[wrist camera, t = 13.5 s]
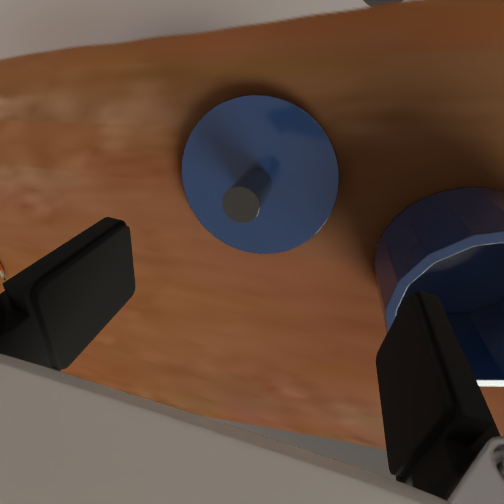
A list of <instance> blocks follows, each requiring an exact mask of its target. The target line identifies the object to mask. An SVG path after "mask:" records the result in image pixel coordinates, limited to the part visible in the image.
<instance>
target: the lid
mask: <svg viewBox="0 0 504 504" xmlns="http://www.w3.org/2000/svg"><path fill="white" fill-rule="evenodd" d="M182 181H183V187H184V191H185V194H186V198H187V200H188V202H189V205H190V207H191V209H192V211H193V212H194V214H195V216H196V217H197V218H198V220H199V221H200V222H201V224H202V225H203V226H204V227H205V228H206V229H207V230H208V231H209V232H210V233H211V234H212V235H214V236H215V237H216V238H218V239H219V240H221V241H222V242H224V243H226V244H227V245H229V246H231V247H234V248H236V249H239V250H242V251H246V252H251V253H258V254H270V253H278V252H283V251H287V250H290V249H293V248H295V247H297V246H299V245H301V244H303V243H304V242H306V241H307V240H309V239H310V238H311V237H313V236H314V235H315V234H316V233H317V232H318V231H319V230H320V229H321V228H322V227H323V225H324V224H325V222H326V221H327V219H328V218H329V216H330V214H331V212H332V210H333V208H334V205H335V202H336V199H337V194H338V189H339V169H338V162H337V158H336V154H335V151H334V148H333V146H332V143H331V141H330V139H329V138H328V136H327V134H326V132H325V131H324V130H323V128H322V127H321V125H320V124H319V123H318V122H317V121H316V120H315V119H314V118H313V117H312V116H311V115H310V114H309V113H307V112H306V111H305V110H303V109H302V108H301V107H299V106H297V105H295V104H294V103H292V102H289V101H287V100H284V99H282V98H278V97H274V96H270V95H258V94H256V95H245V96H240V97H236V98H232V99H230V100H227V101H225V102H223V103H221V104H219V105H217V106H216V107H214V108H213V109H211V110H210V111H209V112H208V113H206V114H205V115H204V116H203V117H202V118H201V120H200V121H199V122H198V123H197V124H196V126H195V127H194V129H193V130H192V132H191V134H190V136H189V138H188V140H187V143H186V146H185V149H184V153H183V159H182Z"/></svg>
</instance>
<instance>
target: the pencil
mask: <svg viewBox="0 0 504 504" xmlns="http://www.w3.org/2000/svg"><path fill="white" fill-rule="evenodd" d="M0 276H1V277H2V278H4V280H5V275H4V269H3V267H2V265H1V263H0ZM5 281H6V280H5Z"/></svg>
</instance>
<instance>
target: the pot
mask: <svg viewBox="0 0 504 504" xmlns="http://www.w3.org/2000/svg"><path fill="white" fill-rule="evenodd" d="M374 267H375V274H376V282H377V287H378V292H379V297H380V302H381V307H382V312H383V317H384V322H385V327H386V332H387V333H388V331H389V329H390V327H391V325H392V323H393V321H394V319H395V317H396V315H397V314H398V312H399V310H400V308H401V306H402V304H403V302H404V300H405V298H406V296H407V295H408V294H412V295H413V294H414V293H415V292H416V291H420V292H424V293H428V294H432V295H436V296H438V297H439V299H440V301H441V303H442V305H443V308H444V310H445V312H446V315H447V317H448V319H449V322H450V324H451V326H452V329H453V331H454V333H455V336H456V338H457V340H458V343H459V345H460V347H461V348H462V350H463V351H464V353H465V356H466V358H467V360H468V362H469V365H470V367H471V369H472V372H473V374H474V376H475V378H476V381H477V383H478V385H479V386H499V387H504V192H501V191H497V190H493V189H487V188H458V189H451V190H447V191H442V192H439V193H436V194H433V195H430V196H428V197H426V198H423V199H421V200H419V201H417V202H416V203H414V204H412V205H410V206H409V207H408V208H406V209H405V210H404V211H402V212H401V213H400V214H399V215H398V216H396V217H395V218H394V219H393V220H392V222H391V223H390V224H389V225H388V226H387V227H386V229H385V231H384V232H383V234H382V235H381V237H380V240H379V242H378V244H377V248H376V251H375V256H374Z"/></svg>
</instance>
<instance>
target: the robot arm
mask: <svg viewBox="0 0 504 504" xmlns="http://www.w3.org/2000/svg"><path fill="white" fill-rule="evenodd" d="M3 286H4V289H5V291H4V292H2V293H1V294H0V504H504V437H503V436H500V434H499V431H498V429H497V427H496V424H495V422H494V420H493V417H492V415H491V413H490V411H489V408H488V406H487V404H486V401H485V399H484V397H483V395H482V392H481V390H480V388H479V385H478V383H477V381H476V378H475V376H474V374H473V372H472V369H471V367H470V365H469V362H468V360H467V358H466V356H465V353H464V351H463V350H462V348H461V347H460V345H459V343H458V340H457V338H456V336H455V333H454V331H453V329H452V326H451V324H450V322H449V319H448V317H447V315H446V312H445V310H444V308H443V305H442V303H441V301H440V299H439V297H438V296H436V295H432V294H428V293H424V292H420V291H416V292H415V293H414V294H413V295H412V294H408V295H407V296H406V298H405V300H404V302H403V304H402V306H401V308H400V310H399V312H398V314H397V315H396V317H395V319H394V321H393V323H392V325H391V327H390V329H389V331H388V333H387V335H386V337H385V339H384V341H383V343H382V345H381V347H380V349H379V350H378V353H377V357H376V367H377V375H378V383H379V392H380V400H381V408H382V416H383V424H384V432H385V440H386V449H387V457H388V464H389V470H390V472H391V474H393V475H396V481H395V480H393V479H389V478H387V477H384V476H381V475H378V474H375V473H372V472H369V471H366V470H364V469H361V468H358V467H355V466H352V465H349V464H346V463H343V462H340V461H337V460H335V459H331V458H328V457H325V456H322V455H319V454H316V453H313V452H310V451H307V450H304V449H301V448H298V447H294V446H292V445H288V444H285V443H282V442H279V441H276V440H273V439H270V438H267V437H264V436H261V435H258V434H254V433H252V432H249V431H245V430H242V429H239V428H236V427H233V426H230V425H227V424H223V423H221V422H218V421H214V420H211V419H208V418H205V417H202V416H199V415H196V414H193V413H190V412H186V411H183V410H180V409H177V408H174V407H171V406H168V405H165V404H161V403H158V402H155V401H152V400H149V399H146V398H143V397H139V396H136V395H133V394H130V393H127V392H124V391H121V390H117V389H114V388H111V387H108V386H105V385H101V384H98V383H95V382H92V381H89V380H85V379H82V378H79V377H76V376H73V375H70V374H66V373H63V372H60V370H61V369H65V368H67V367H68V366H69V365H70V364H71V363H72V362H73V361H74V360H75V359H76V358H77V357H78V355H79V354H80V353H81V352H82V351H83V350H84V349H85V348H86V347H87V345H88V344H89V343H90V342H91V341H92V340H93V339H94V338H95V337H96V335H97V334H98V333H99V332H100V331H101V330H102V329H103V328H104V327H105V326H106V324H107V323H108V322H109V321H110V320H111V319H112V318H113V317H114V316H115V314H116V313H117V312H118V311H119V310H120V309H121V308H122V307H123V306H124V305H125V303H126V302H127V301H128V300H129V299H130V298H131V297H132V295H133V294H134V291H135V278H134V267H133V257H132V247H131V236H130V229H129V227H128V226H126V223H125V222H124V221H122V220H118V219H114V218H110V217H106V218H104V219H102V220H100V221H99V222H97V223H96V224H94V225H93V226H91V227H90V228H88V229H86V230H85V231H83V232H82V233H80V234H79V235H77V236H76V237H74V238H72V239H71V240H69V241H68V242H66V243H65V244H63V245H62V246H60V247H58V248H57V249H55V250H54V251H52V252H51V253H49V254H48V255H46V256H44V257H43V258H41V259H40V260H38V261H37V262H35V263H34V264H32V265H31V266H29V267H27V268H26V269H24V270H23V271H21V272H20V273H18V274H17V275H15V276H13V277H12V278H10V279H9V280H7V281H6V282H4V283H3Z"/></svg>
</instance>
